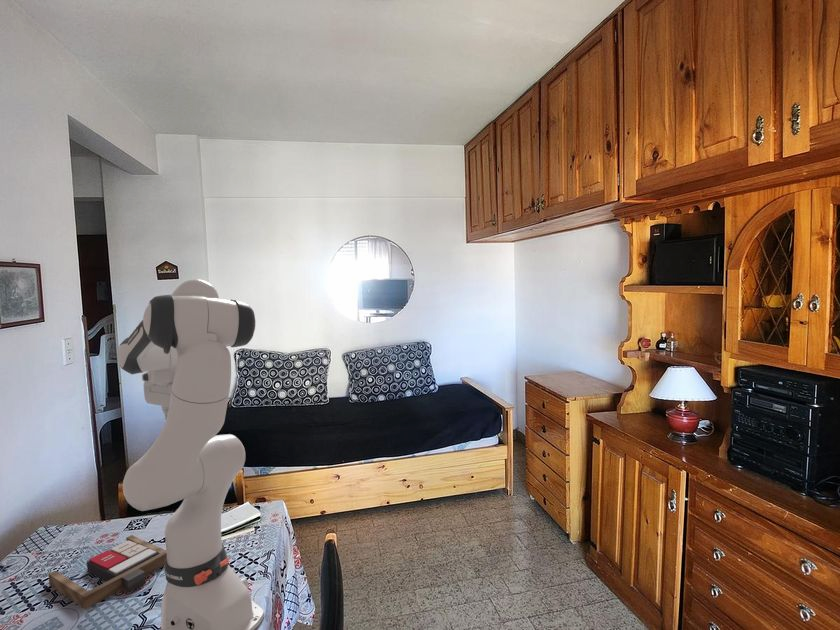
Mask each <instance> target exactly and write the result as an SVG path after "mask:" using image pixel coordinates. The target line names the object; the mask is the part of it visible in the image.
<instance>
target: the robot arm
mask: <svg viewBox="0 0 840 630" xmlns="http://www.w3.org/2000/svg"><path fill="white" fill-rule="evenodd" d="M256 322H257V321H256V315H255V311H254V310H253V308H252V307H251V306H250V305H249V304H248V303H245V302H242V301H239V300H236V299H235V300H234V299H222V298H219V293H218V291H217V289H216V288H215V287H214V286H213V285H212V284H211V283H210V282H208V281H206V280H203V279H196V278H195V279H188V280H186V281H184V282H182V283H181V284H180V285H179V286H177V287H176V288H175V290H174V291H173V292H172V293H171V294H162V295H156V296H154V297H152V299H150V300H149V303H148V304H147V306H146V308H145V311H144V312H143V317H142V320H141V321H140V322H139V324H138V325H137V326H136V327H135V329H133V331H132V333H131V334H130V335H129V336H127V337H126V338H125V339H124V340H122V342H121V343H120V344H119V346H118V349H117V362H118V364H119V367H120V369H122V370H123V371H125V372H127V373H128V374H130V375H136V374H141V380H142V382H143V393H144V394H143V395H144V400H145V402H146V404H150V405H154V406H159V407H161V410H162V412H163V415H164V419H165V423H164V425H163V427H162V429H161V431H160V433H159V435H158V436H157V437H156V439H155V440H154V442H153V444H152V445H151V446H150V448H149V449H148V450H147V451H146V452H145V453H144V454H143V455H142V456H141V457H140V458H139V459H138V460H137V461H136V462H134V463H133V464H132V465H131V466H130V467H128V468H127V470H126V472H125V475H124V478H123V482H122V492H123V493H122V494H123V495H124V498H125V500H126V502H127V503H128V504H129V506H131V507H132V508H134V509H136V510H137V511H141V512H144V511H145V512H146V511H150V510H157V509H160V508H164V507H168V506H170V505H172V504H175V503H177V502H180V501H182V502H181V504H180V505H179V507H178V508H177V509H176V510H175V512H173V514H171V516H170V518H169V519H168V521H167V523H166V525H165V530H164V536H165V538H164V539H165V540H164V541H165V550H166V554H167V558H166V561H165V566H164V574H165V580H166V581H167V582H166V584H165V585H166V586H165V589H164V593H163V595H162V598H161V612H160V613H161V618H160V620H161V621H160V622H161V623H160V624H161V625H160V629H159V630H256V628H258V627H259V625H260V624H261V622H262V621H263V619H264V617H265V611H264V609H263V608H262V607H260V605H258V604H257V603H256V602H255V601H254V600H253V599H252V597H251V593H250V590H249V588H248V587H249V581H248V578H247V577H241V578H240V577H239V576H238V574H237V573H236V571H235V568H233V567H231V565H229V563H230V562H231V560H230V559H231V557H230V556H227V551H226V549H225V547H224V544H223V540H222V539H223V538H222V514H223V513H222V512H223V507H224V503H225V499H226V497H227V495H228V492H229V490H230V487H231V486H232V483H233V481H234V480H235V479H236V477H237V476H238V474H240V472H241V471H242V469H243V468H244V466H245V462H246V450H245V449H246V448H245V447H244V445H243V443H242V441H241V440H240V439H239V438H238V437H237V436H236V435H234V434H231V433H228V434H218V433H219V432H220V431H221V429H222V427H223V426H224V424H225V420H226V416H227V415H226V414H227V409H228V402H229V397H230V392H231V391H230V390H231V383H232V382H231V381H232V359H231V352H230V350H229V349H228V347H230V348H237V347H243V346H247V345H248V344H249V343H250V341H251V340H252V339H253V337H254V334H255V330H256Z"/></svg>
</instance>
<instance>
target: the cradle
mask: <svg viewBox="0 0 840 630" xmlns="http://www.w3.org/2000/svg"><path fill="white" fill-rule="evenodd" d="M128 540H129V541H132V542H134V543H137V544H140V545H142V546H145V547H147V548H149V549H152V550H154V551H157V552H159V554H158V555H156V556H154V557H152V558H150V559H149V560H147V561H145V562H143V563H141V564H139V565H137V566H135V567H133V568H131V569H130V570H128V571H126V572H124V573H122V574H120V575H118V576H116V577H114V578H113V579H111V580H109V581H107V582H106V581H104V582H103V583H101V584H100V585H98V586H96V587H94V588H92V589H90V590H88V589H86V588H84V587H83V586H81V585H79V584H78V583H76V582H75V581H73V580H71V579H69V578H68V577H66V576H65V575H63V574H62V573H60V572H59V571H56V570H53V571H52V572H50V573H48V583H49V587H52V588H53V590H55V591H57V592H58V593H60V594H62V595H63V596H65V597H66V598H68V599H69V600H71V601H72V602H74V603H76V604H77V605H78V606H80V607H81V608H83V609H84V610H87V609H89V608H91V607H93V606H95V605H96V604H98V603H100V602H101V601H104V600H106V599H107V598H109V597H110V596H112V595H114V594H116V593H118V592H120V591H122V590H124V591H126V593H131V592H133V591H135V590H136V589H139V588H140V587H141V586H143V585H145V584H146V577H147V576H148V575H150V574H152V573H154V572H155V571H157V570H159V569H161V568H162V567H165V561H166V558H167V554H166V549H164V548H162V547H159V546H157V545H155V544H153V543H150V542H148V541H146V540H143V539H141V538H139V537H137V536H136V535H135V536H134V535H133V534H131V535H128V536H126V537H125V542H126V541H128Z"/></svg>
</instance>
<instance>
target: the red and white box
mask: <svg viewBox="0 0 840 630" xmlns="http://www.w3.org/2000/svg"><path fill="white" fill-rule="evenodd" d="M158 554H159V552H157V551H154V550H152V549H149V548H147V547H145V546H142V545H140V544H137V543H134V542H132V541H129V540H128V541H126V540H125V541H124V542H122V543H120V544H117V545H116V546H113V547H112V548H110V549H109V550H108V549H107V550H105V551H103V552H101V553H99V554H97V555H95V556H93V557H91V558H89V559H88V560H87V561H86V569H87V573H89V574H91V575H92V576H95V577H96V578H98V579H100V580H102V581H104V582H107V581H109V580H111V579H113V578H114V577H116V576H118V575H120V574H122V573H124V572H126V571H128V570H130V569H131V568H133V567H135V566H137V565H139V564H141V563H143V562H145V561H147V560H149V559H150V558H152V557H154V556H156V555H158Z"/></svg>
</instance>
